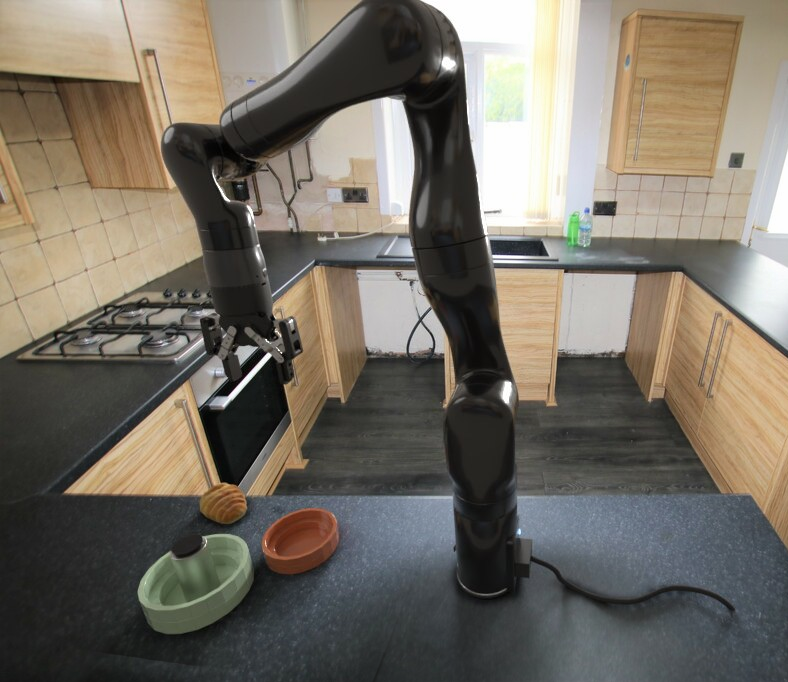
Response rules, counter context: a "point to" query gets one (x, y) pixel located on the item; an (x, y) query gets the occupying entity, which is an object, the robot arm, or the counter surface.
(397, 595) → the counter surface
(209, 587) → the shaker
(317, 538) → the bowl
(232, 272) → the robot arm
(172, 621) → the bowl
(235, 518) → the pastry
